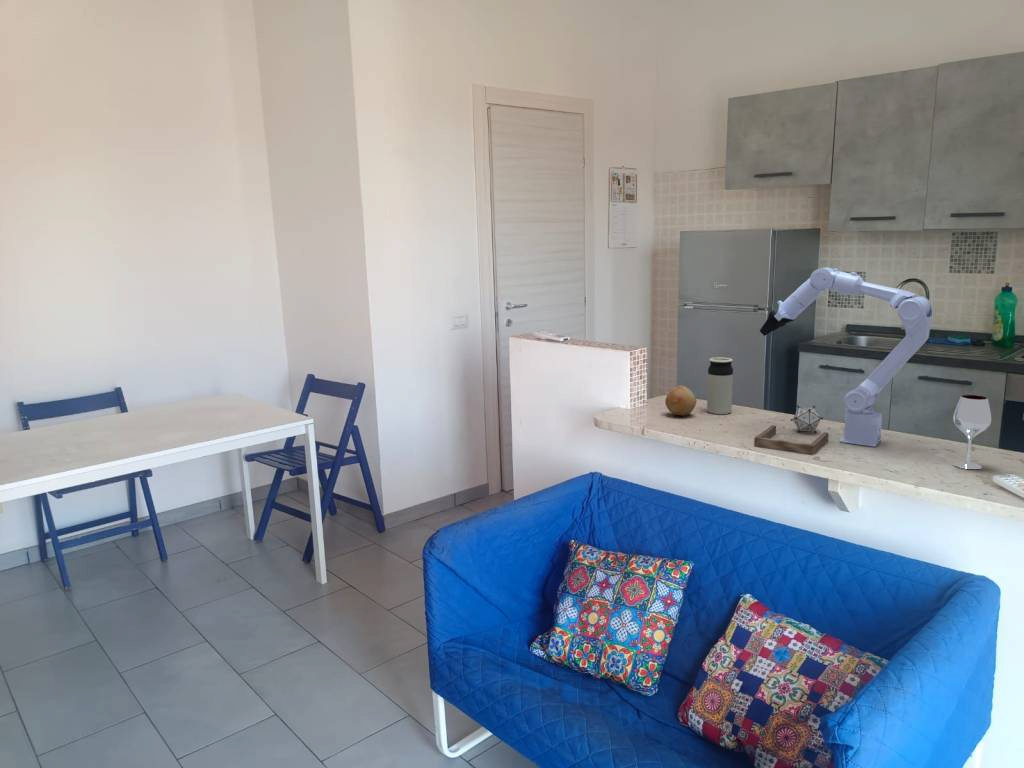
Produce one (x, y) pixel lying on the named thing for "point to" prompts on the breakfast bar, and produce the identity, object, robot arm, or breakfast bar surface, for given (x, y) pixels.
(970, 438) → the wineglass
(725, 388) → the travel mug
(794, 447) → the u-shaped wooden tray
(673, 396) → the onion
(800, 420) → the game die
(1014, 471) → the breakfast bar surface
